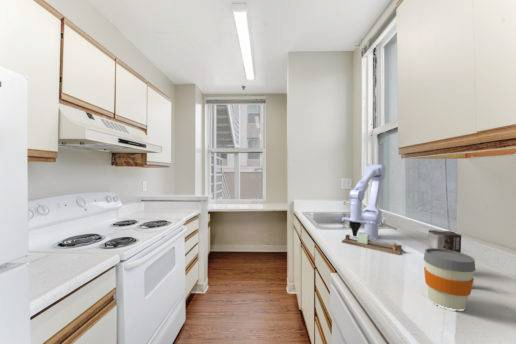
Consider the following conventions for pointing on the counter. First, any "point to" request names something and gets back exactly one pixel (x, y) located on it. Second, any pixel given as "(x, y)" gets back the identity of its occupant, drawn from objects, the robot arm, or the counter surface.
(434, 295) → the reusable coffee cup
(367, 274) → the counter surface
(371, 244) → the rod board
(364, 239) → the sleeve
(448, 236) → the coffee box
